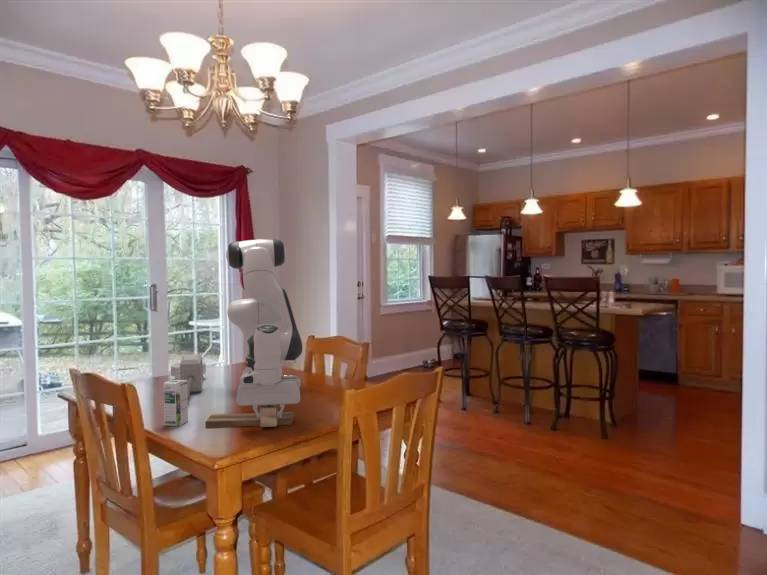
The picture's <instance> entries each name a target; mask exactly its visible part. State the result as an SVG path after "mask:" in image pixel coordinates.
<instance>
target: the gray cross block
mask: <svg viewBox="0 0 767 575" xmlns="http://www.w3.org/2000/svg"><path fill="white" fill-rule="evenodd" d="M180 363H181V362H176V363H173V364H170V376H171V377H174V378H175V380H181V374H180ZM202 366H203V375H205V374H206V371H207V370H206V369H207V368H206V367H207V366H206V362H204V361H202Z"/></svg>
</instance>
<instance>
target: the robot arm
mask: <svg viewBox="0 0 767 575" xmlns="http://www.w3.org/2000/svg"><path fill="white" fill-rule="evenodd" d="M225 257H226V260H227V262H228V264H229V267H231V268H232V269H236V270H241V269H242V279H243V280H242V282H243V287H244V288H243V289H244V291H245V293H246V295H247V296H248V297H249V298H241V299H237V300H233V301H231V302H230V304H229V305H228V307H227V312H226V313H227V318H228V319H229V321H230V322H231V323H232V324H234V325H235V326H236V327H237V328H238V329H239V330H240V331H241V333H242V334H243V336H244V340H245V347H246V357H245V366H246V367H245V368H244V369H243V370H242V373H241V376H240V378H239V383H240V384H239V385H238V388H237V391H236V404H237V405H238V406H240V407H243V406H244V407H245V406H252V409H253V411H254V413H256V418H257V419H258V418H260V410H259V409H258V408H259V406H262V405H277V406H278V405H279V408H280V409H279V411H278V410H277V418H281V417H282V412H284V408H285V406H286V405H297V404H298V403H300V401H301V393H300V392H301V391H300V388H301V386H302V385H301V384H302V382H301V378H300V377H299V376H298V375H295V374H292V375H290V374H286V375H285V374H284V375H283V363H282V361H292V362H293V361H296V359H298V358H299V357H301V355H302V353H303V341H302V338H301V336H300V332H299V330H298V327H297V323H296V320H295V317H294V313H293V310H292V306H291V302H290V299H289V297H288V294H287V292H286V290H285V289H284V288H282V287H280V285H279V284H278V282H277V280H276V276H275V268H277V267H279V266H282V265H283V264H284V263H285V261H286V258H287V249H286V246H285V244H284V242H283V241H282V240H280V239H276V238H273V239H267V238H266V239H263V238H256V239H247V240H242V241H241V240H240V241H239V240H237V241H232V242H230V243H229V244H228V246H227V248H226V253H225ZM274 267H275V268H274ZM276 324H282V327H283V330H284V331H281V332H280V328H279V327H278V326H276ZM258 325H260V326H258Z"/></svg>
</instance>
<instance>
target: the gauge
mask: <svg viewBox="0 0 767 575" xmlns="http://www.w3.org/2000/svg"><path fill="white" fill-rule="evenodd" d="M277 411H278V404H277V405H260V410H259V412H260V418H261V426H260V427H261V428H266V427H270V428H271V427H277V426H278V425H277V423H278V418H277Z"/></svg>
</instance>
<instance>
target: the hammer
mask: <svg viewBox="0 0 767 575" xmlns="http://www.w3.org/2000/svg"><path fill="white" fill-rule="evenodd" d="M202 362H203V355H202V354H199V353H198V354H197V353H196V354H195V353H193V354H184V355H183V356H182V357H181V361H180V362H179V363H180V374H181V380H187V392H188V401H189V400H190V394H192V393H193V394H194V393H200V392H201V391H202V390H203V386H204V374H203V366H202Z"/></svg>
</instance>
